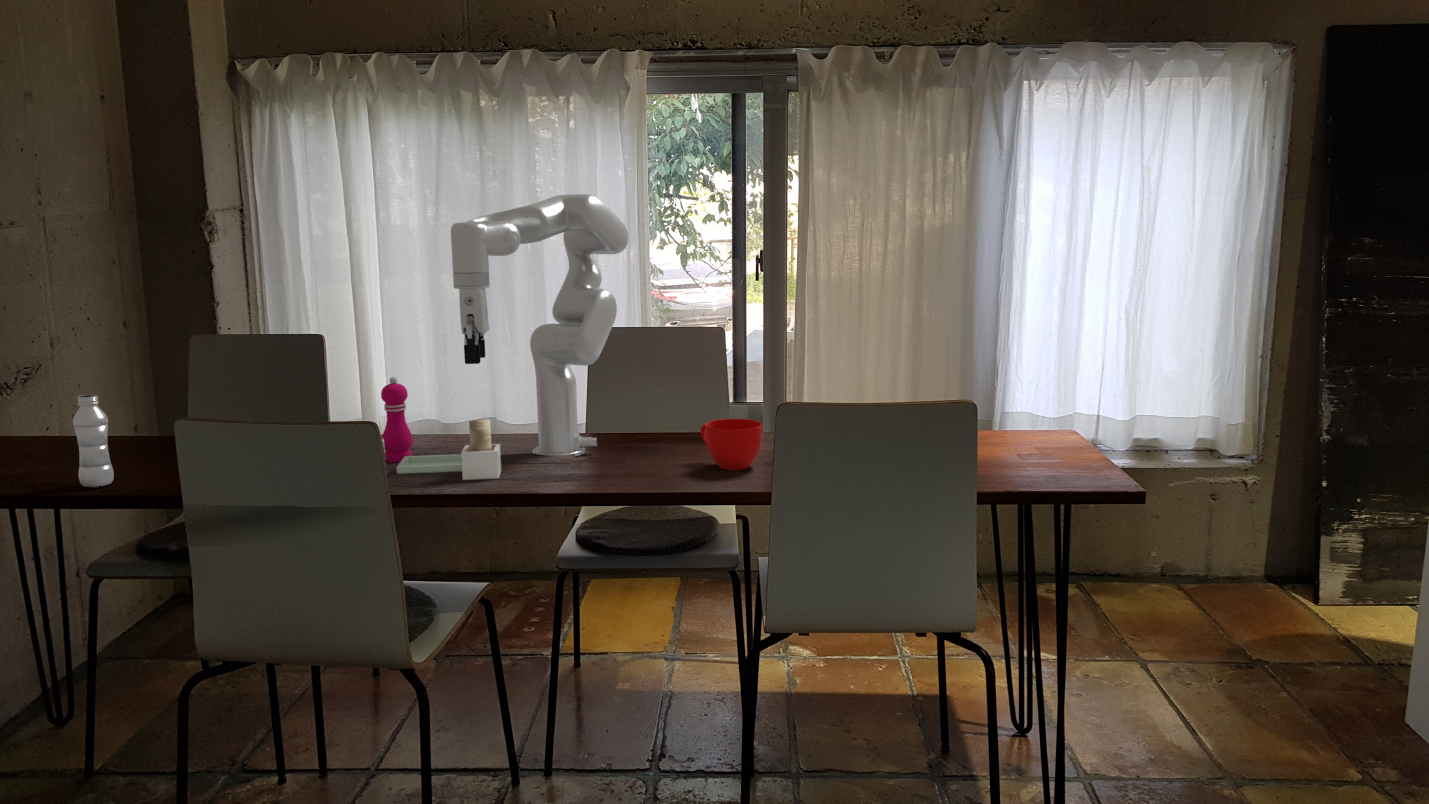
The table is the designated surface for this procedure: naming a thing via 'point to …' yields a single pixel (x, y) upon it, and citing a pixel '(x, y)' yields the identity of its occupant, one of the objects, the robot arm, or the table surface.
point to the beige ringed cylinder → (480, 435)
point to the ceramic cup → (733, 442)
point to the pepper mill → (396, 422)
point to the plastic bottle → (92, 443)
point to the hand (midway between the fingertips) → (475, 360)
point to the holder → (481, 463)
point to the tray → (430, 464)
